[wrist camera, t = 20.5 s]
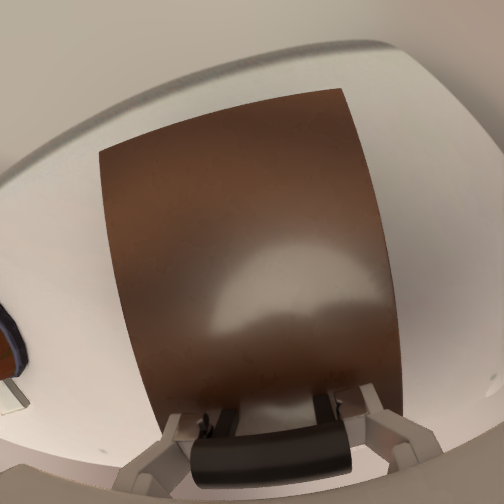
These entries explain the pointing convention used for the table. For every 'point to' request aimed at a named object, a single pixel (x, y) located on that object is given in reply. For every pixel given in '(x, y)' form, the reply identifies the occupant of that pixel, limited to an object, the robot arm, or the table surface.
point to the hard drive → (11, 397)
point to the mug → (10, 348)
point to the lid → (255, 283)
